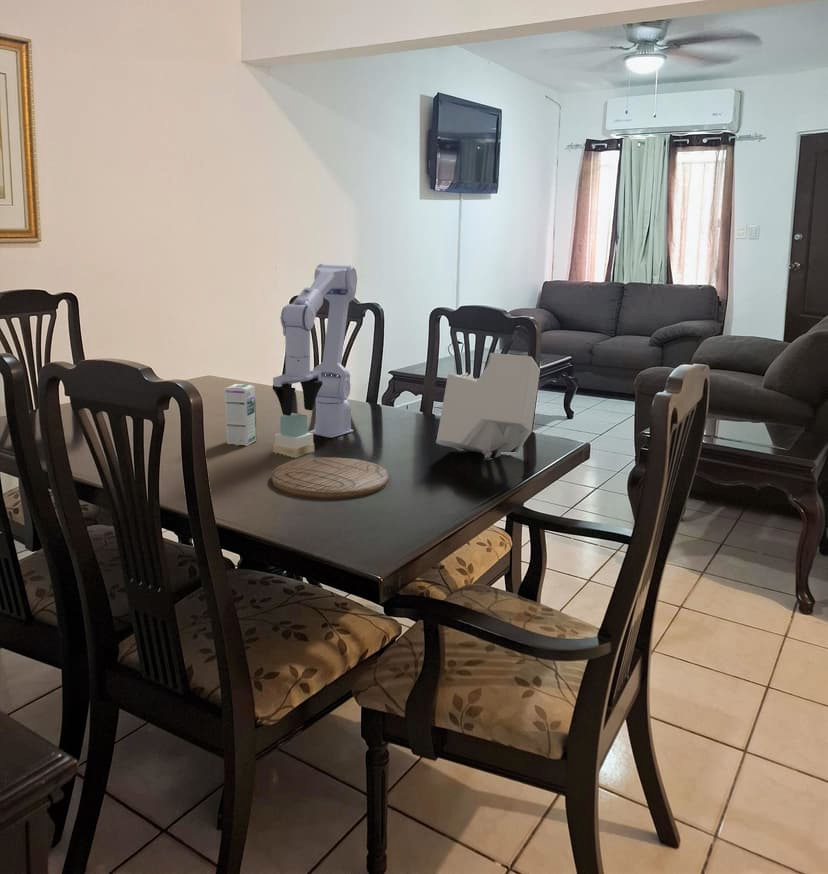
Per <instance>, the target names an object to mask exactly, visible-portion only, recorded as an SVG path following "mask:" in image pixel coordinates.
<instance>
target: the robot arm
mask: <svg viewBox="0 0 828 874" xmlns="http://www.w3.org/2000/svg"><path fill="white" fill-rule="evenodd" d="M314 270H315V271H314V276H313V277H314V281H313V283H311V286H310V287H304V288H303V289H302V291H301V292H300V293H299V295H297V297H296V298H295V300H294V301H293V302H292V303H288V304H286V305H285V306H283V307H282V310H281V313H280V323H281V326H282V334H283V336H284V338H285V340H284V341H285V343H284V344H285V345H284V346H285V349H284V350H285V373H284V374H281V375H278V376H275V377H273V378H272V390H273V391H274V394H275V395H276V396H277V399H278V402H279V405H280V408H281V412H282V416H283V415H287V416H290V415H291V413H293V412H292V411H293V398H294V394H295V391H296V387H292V386H291V385H292V384H297V383H300V385H301V388H302V394H303V406H304V410H306V411H314V408H315V429H312V430H309V431H308V433H313V435H317V436H321V437H325V438H328V439H329V438H331V439H332V438H336V437H338V436H339V437H340V436H343V435H345V434H349V433H353V432H354V429H352V408H351V404H350V402H349V401H348V400H347V399H348V398H349V397H350V393H351V374H350V371H349V370H348V369H346V368H345V366H343V365H342V360H343V350H344V344H345V336H346V335H345V334H346V327H347V320H348V311H349V306H350V302H351V301H353V300H355V299H356V298H355V297H356V293H357V285H358V274H357V269H356V267H355V266H354V265H351V264H349V265H337V264H323V263H319V264H317V266H316V268H315V269H314ZM324 299H325V300H327V301H328V302H329V306H328V307H329V308H328V316H327V323H326V332H325V337H324V338H325V340H324V348H323V355H322V362H321V363H320V364H318V365H316V366H315V367H314V368H313V369H312V370H311V330H312V329H313V327H314V325H315V321H316V318H317V313H318V311H319V310H320V308H321V307H322V306H323V304H324Z"/></svg>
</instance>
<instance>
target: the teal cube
mask: <svg viewBox="0 0 828 874" xmlns="http://www.w3.org/2000/svg"><path fill="white" fill-rule="evenodd" d="M279 417H280V420H279V421H280V433H281V435H286V436H291V437H298V436H301V435H304V434H307V432H308V415H305V414H301V413H295V412H291V415H290V416H287V415H283V414H282V415H280V416H279Z"/></svg>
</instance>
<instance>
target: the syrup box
mask: <svg viewBox="0 0 828 874" xmlns="http://www.w3.org/2000/svg"><path fill="white" fill-rule="evenodd" d="M256 405H257V404H256V385H254V384H249V383H234V384H232V385H229V386H228V387H224V407H225V410H224V411H225V429H226V430H225V432H226V433H225V434H226V435H225V436H226V445H230V444H235V445H234V446H239V445H245V446H244V447H249V446H250V445H251V444H253V443H254V442H256V441H258V440H257V439H258V437H257V411H256V410H257V409H256V407H257V406H256Z"/></svg>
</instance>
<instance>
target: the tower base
mask: <svg viewBox="0 0 828 874" xmlns="http://www.w3.org/2000/svg"><path fill="white" fill-rule="evenodd" d="M273 452H275V453H274V454H277V453H279V454H278V455H281V454H283V455H282V456H285V455H286V457H289V456H290V457H291V458H293V457H294V459H295V458H298V457H299V458H300V457H302V456H306V455H308V454H309V455H310V454H312V453H315V443H314V442H313V444H310V445H307V446H304V447H301V448H298V449H294V448H289V447H284V446H279V445H275V443H273V444H272V453H273ZM305 454H306V455H305Z"/></svg>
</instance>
